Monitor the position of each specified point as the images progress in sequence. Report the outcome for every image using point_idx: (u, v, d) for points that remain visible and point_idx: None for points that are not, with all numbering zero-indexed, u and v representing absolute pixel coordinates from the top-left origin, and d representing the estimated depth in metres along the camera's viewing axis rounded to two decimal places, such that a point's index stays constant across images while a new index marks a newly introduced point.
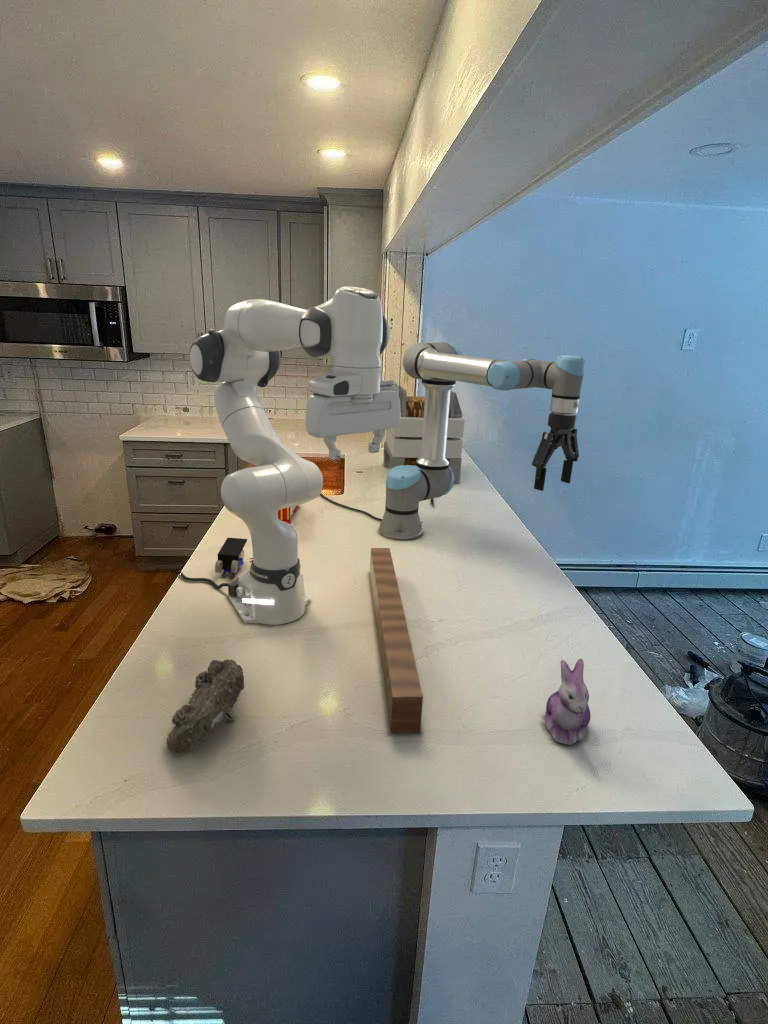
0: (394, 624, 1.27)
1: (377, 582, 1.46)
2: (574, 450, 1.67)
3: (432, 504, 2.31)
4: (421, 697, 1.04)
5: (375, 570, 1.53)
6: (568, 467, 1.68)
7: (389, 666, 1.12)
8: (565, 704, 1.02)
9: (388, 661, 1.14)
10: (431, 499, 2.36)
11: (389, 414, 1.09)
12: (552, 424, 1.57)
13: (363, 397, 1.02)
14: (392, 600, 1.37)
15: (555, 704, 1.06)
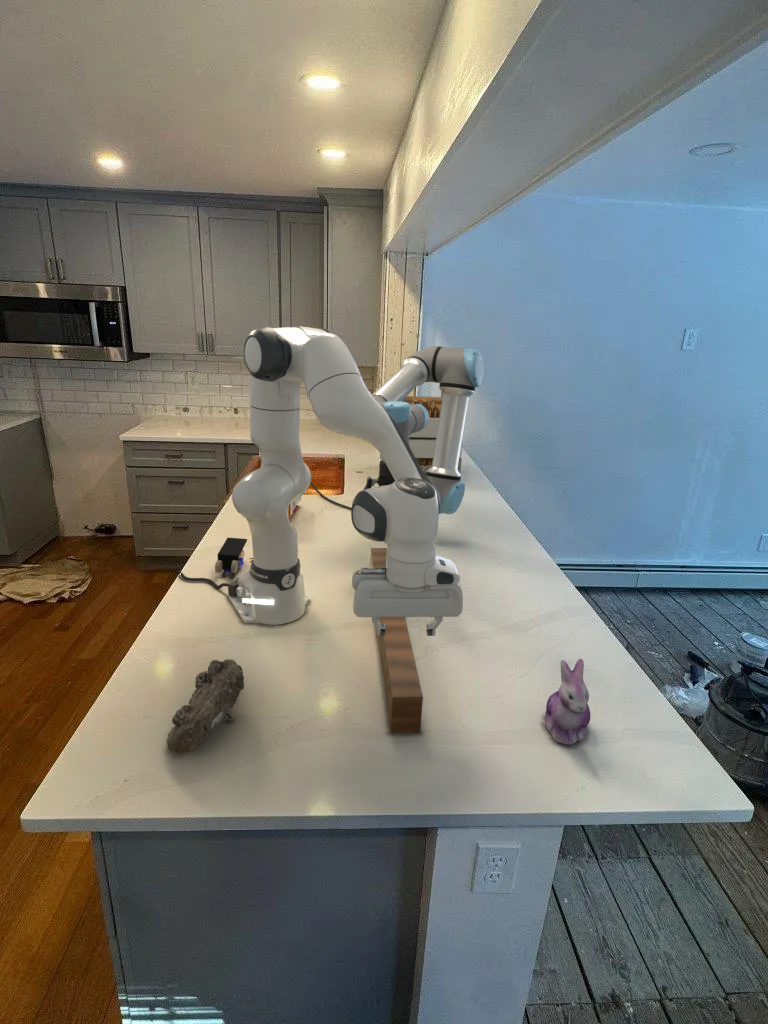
0: (394, 624, 1.27)
1: None
2: None
3: None
4: (421, 697, 1.04)
5: None
6: None
7: (389, 666, 1.12)
8: (565, 704, 1.02)
9: (388, 661, 1.14)
10: None
11: None
12: (379, 470, 1.52)
13: None
14: None
15: (555, 704, 1.06)
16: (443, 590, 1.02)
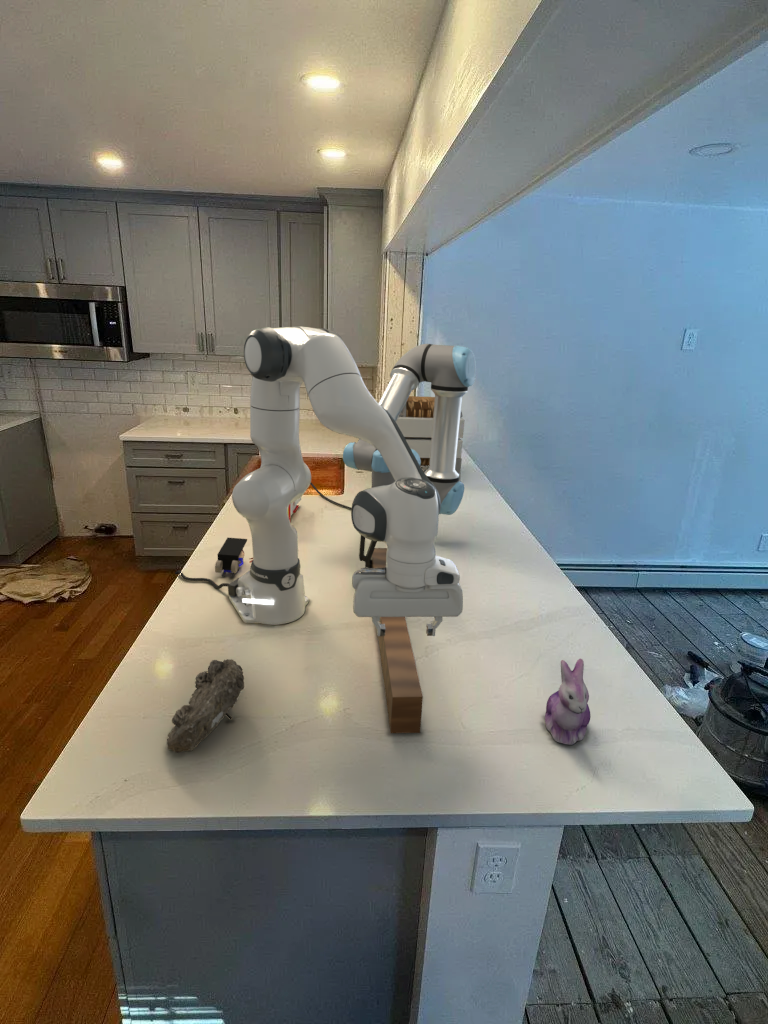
0: (394, 624, 1.27)
1: None
2: None
3: None
4: (421, 697, 1.04)
5: None
6: None
7: (389, 666, 1.12)
8: (565, 704, 1.02)
9: (388, 661, 1.14)
10: None
11: None
12: None
13: None
14: None
15: (555, 704, 1.06)
16: (443, 590, 1.02)
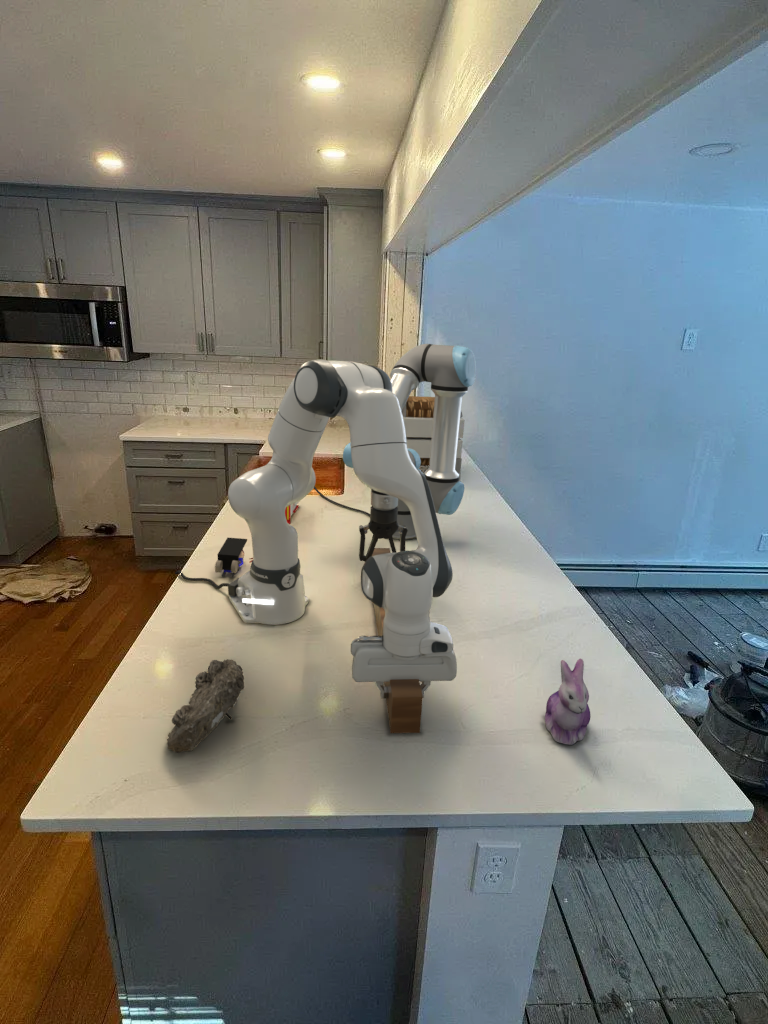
0: None
1: None
2: (400, 550, 1.59)
3: None
4: (421, 697, 1.04)
5: None
6: None
7: None
8: (565, 704, 1.02)
9: None
10: None
11: None
12: (370, 515, 1.56)
13: None
14: None
15: (555, 704, 1.06)
16: (438, 657, 1.07)
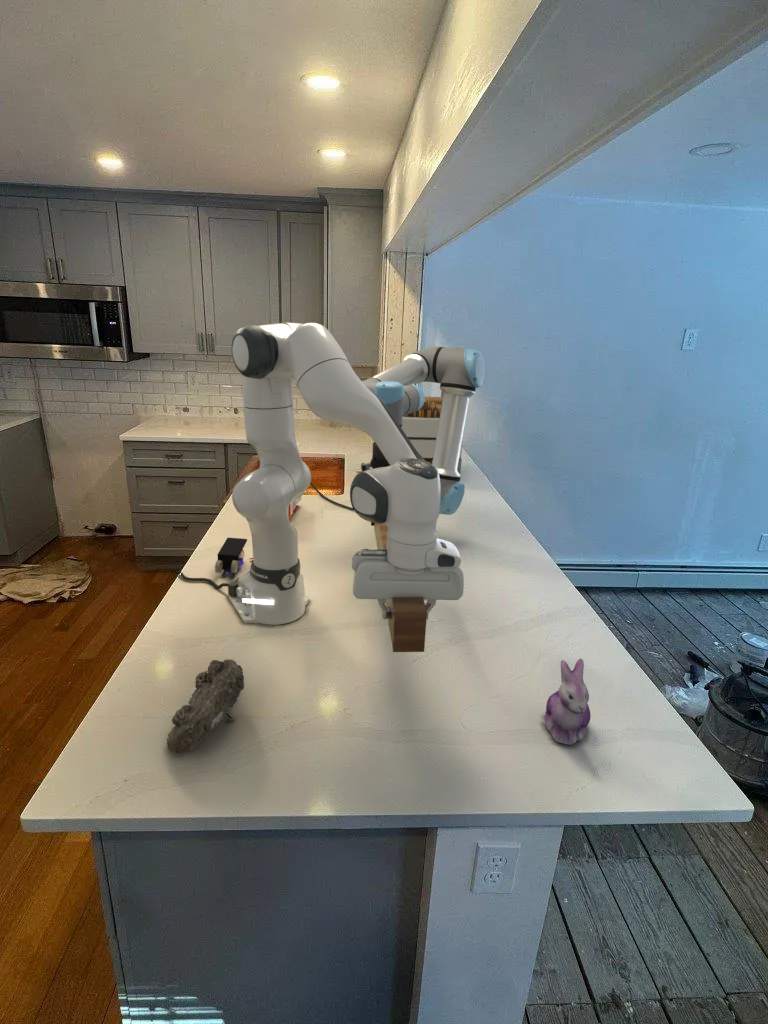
0: None
1: None
2: None
3: None
4: (425, 612, 0.98)
5: None
6: None
7: None
8: (565, 704, 1.02)
9: None
10: None
11: None
12: None
13: None
14: None
15: (555, 704, 1.06)
16: (444, 573, 1.01)
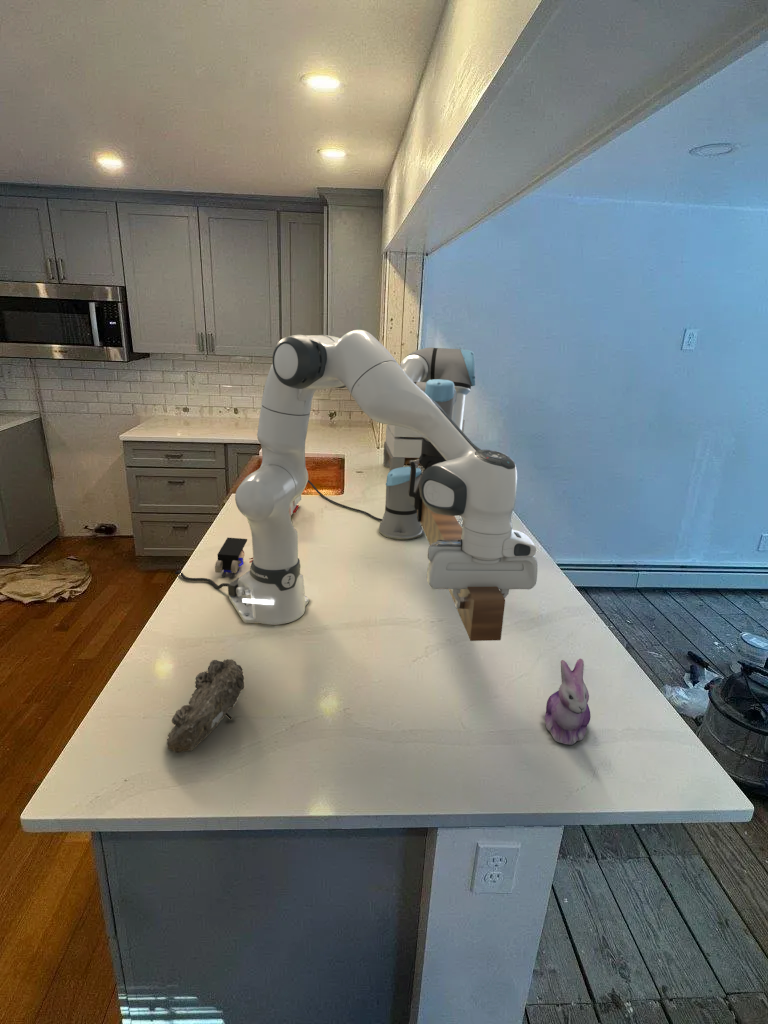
0: None
1: (432, 513, 1.42)
2: None
3: None
4: (503, 600, 1.00)
5: None
6: None
7: None
8: (565, 704, 1.02)
9: None
10: None
11: None
12: (421, 449, 1.52)
13: None
14: (452, 527, 1.33)
15: (555, 704, 1.06)
16: (518, 562, 1.03)
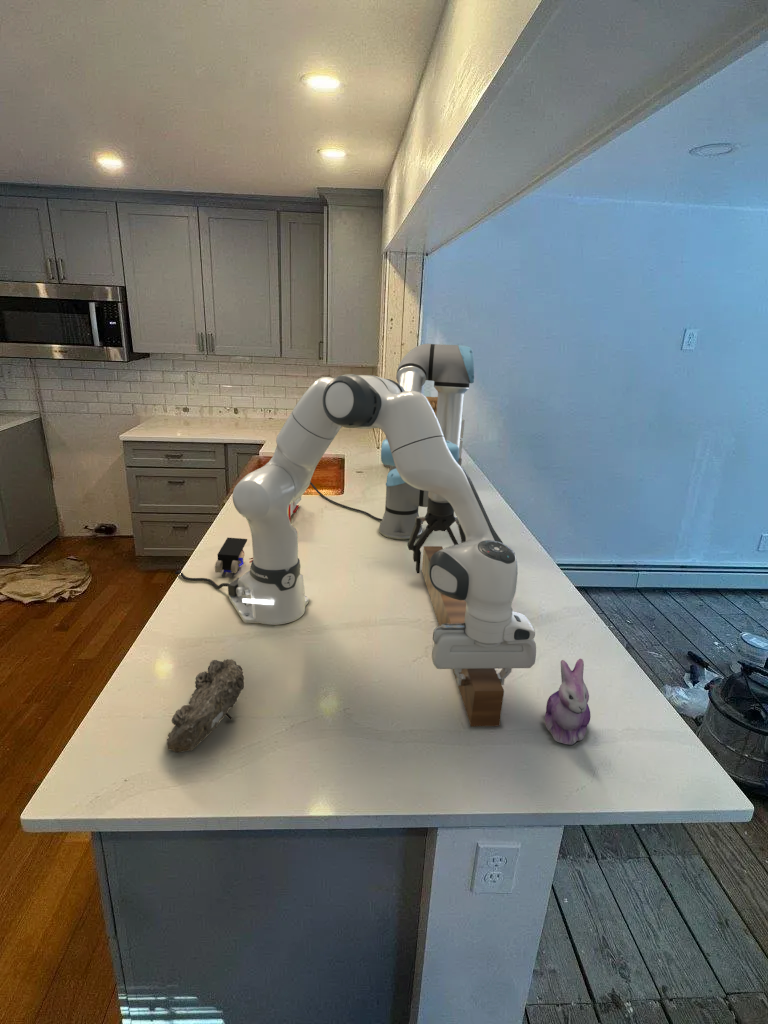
0: (461, 620, 1.30)
1: None
2: (462, 541, 1.61)
3: None
4: (502, 691, 1.06)
5: None
6: None
7: None
8: (565, 704, 1.02)
9: None
10: None
11: None
12: (427, 508, 1.58)
13: None
14: None
15: (555, 704, 1.06)
16: (518, 644, 1.09)
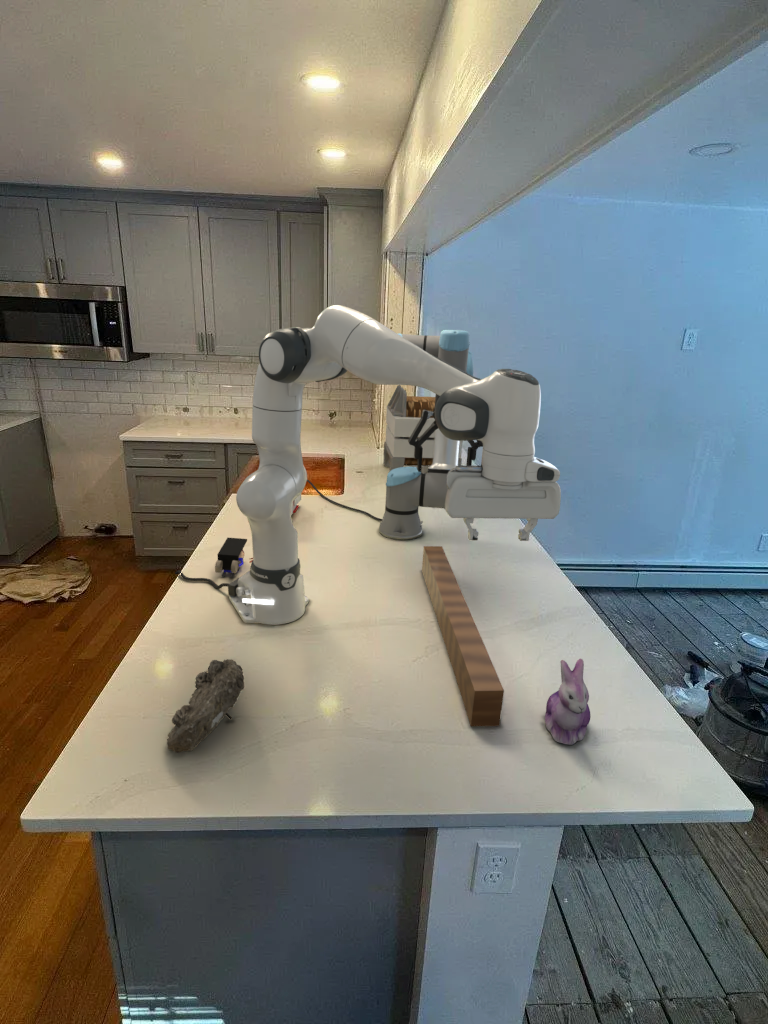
0: (461, 620, 1.30)
1: (437, 579, 1.49)
2: None
3: None
4: (502, 691, 1.06)
5: (432, 568, 1.55)
6: (468, 455, 1.53)
7: (465, 661, 1.15)
8: (565, 704, 1.02)
9: (463, 656, 1.16)
10: None
11: None
12: None
13: None
14: (455, 597, 1.40)
15: (555, 704, 1.06)
16: (541, 489, 0.99)
